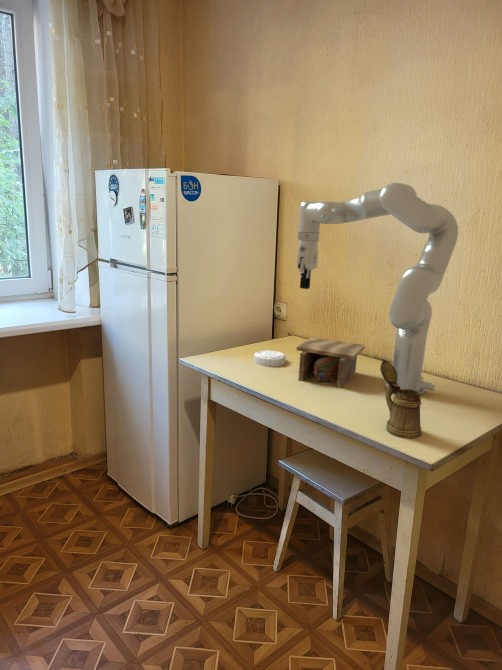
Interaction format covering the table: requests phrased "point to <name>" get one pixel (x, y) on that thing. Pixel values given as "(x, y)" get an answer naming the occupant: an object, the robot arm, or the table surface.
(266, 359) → the mooncake
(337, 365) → the tin
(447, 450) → the table surface
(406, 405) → the wooden mug
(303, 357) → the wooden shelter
